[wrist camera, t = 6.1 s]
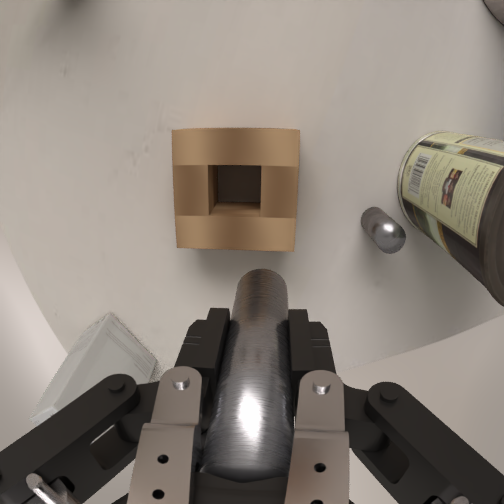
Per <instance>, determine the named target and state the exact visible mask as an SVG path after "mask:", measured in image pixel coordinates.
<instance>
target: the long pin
mask: <svg viewBox="0 0 504 504" xmlns="http://www.w3.org/2000/svg"><path fill="white" fill-rule="evenodd" d="M293 440H294V409H293V391H292V388H291V375H290V353H289V332H288V295H287V286H286V283H285V281H284V280H283V278H282V277H281V276H280V275H279V274H277V273H276V272H273V271H271V270H267V269H256V270H253V271H250V272H248V273H247V274H245V275H244V276H243V277H242V278H241V280H240V281H239V283H238V287H237V292H236V296H235V301H234V306H233V311H232V315H231V320H230V325H229V330H228V334H227V339H226V344H225V349H224V354H223V359H222V363H221V368H220V373H219V378H218V383H217V387H216V392H215V397H214V402H213V407H212V412H211V417H210V422H209V426H208V431H207V436H206V441H205V446H204V451H203V456H202V463H201V470H200V472H202V473H208V474H211V475H214V476H217V477H220V478H224V479H227V480H230V481H234V482H237V483H248V482H254V481H260V480H265V479H270V478H275V477H289V469H290V462H291V455H292V447H293Z"/></svg>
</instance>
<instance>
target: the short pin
mask: <svg viewBox="0 0 504 504" xmlns="http://www.w3.org/2000/svg"><path fill="white" fill-rule="evenodd" d="M361 224H362V227H363V228H364V229H365V231H366V232H367V233H368V234H369V236H370V237H371V238H372V239H373V240H374V242H375V243H376V244H377V245H378V247H379V248H380V249H381V250H382V251H383V252H385V253H389V254H391V253H395V252H397V251H399V250H400V249H401V248H402V247H403V245H404V243H405V240H406V234H405V231H404V229H403V228H402V227H401V226H400V225H399V224H397V223H396V222H395V221H394V220H393V219H392V218H391V217H389V216H388V215H387V214H386V213H385V212H384V211H382V210H381V209H380V208H377V207H371V208H368V209H367V210H366V211H365V212H364V213H363V215H362V217H361Z"/></svg>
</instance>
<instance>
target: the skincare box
mask: <svg viewBox="0 0 504 504" xmlns="http://www.w3.org/2000/svg"><path fill="white" fill-rule="evenodd" d="M156 361H157V360H156V359H155V358H154V357H153V356H152V355H151V354H150V353H149V352H148V351H147V350H146V349H145V348H144V347H143V346H142V345H141V344H140V343H139V342H138V341H137V340H136V339H135V338H134V337H133V336H132V335H131V334H130V332H129V331H128V330H127V329H126V328H125V327H124V326H123V325H122V324H121V323H120V322H119V321H118V320H117V319H116V318H115V316H114V315H113V314H112V313H110V314H108V315H107V316H105V317H104V318H102V319H101V320H99V321H98V322H96V323H95V324H94V325H92V326H91V327H89V328H88V329H87V330H85V331H84V332H83V333H82V335H81V336H80V338H79V339H78V340H77V342H76V343H75V345H74V346H73V348H72V349H71V351H70V352H69V354H68V356H67V357H66V359H65V361H64V362H63V364H62V365H61V367H60V368H59V370H58V371H57V373H56V375H55V376H54V378H53V379H52V381H51V383H50V384H49V386H48V387H47V389H46V391H45V392H44V394H43V396H42V397H41V399H40V401H39V402H38V404H37V406H36V408H35V409H34V411H33V413H32V415H31V417H30V418H29V420H31V421H32V422H33V423H34V424H35V425H36V426H38V425H40V424H41V423H42V422H44V421H45V420H47V419H48V418H50V417H51V416H52V415H54V414H55V413H57V412H58V411H59V410H61V409H62V408H64V407H65V406H66V405H68V404H69V403H71V402H72V401H74V400H75V399H76V398H78V397H79V396H81V395H82V394H83V393H85V392H86V391H88V390H89V389H90V388H92V387H93V386H94V385H96V384H97V383H99V382H100V381H101V380H103V379H104V378H106V377H108V376H110V375H113V374H127V375H129V376H131V377H132V378H134V380H135V381H136V384H146V383H149V380H150V377H151V375H152V372H153V369H154V366H155V364H156ZM112 427H113V425H112V426H111V427H110V428H112ZM110 428H109V429H110ZM109 429H107V430H106V431H105V432H104V433H106V432H107V431H108V430H109ZM104 433H102V434H101V435H100V436H99V437H101V436H102V435H103V434H104ZM99 437H97V438H96V439H95V440H94V441H96V440H97V439H98V438H99ZM94 441H93V442H94ZM93 442H92V443H93ZM92 443H91V444H92Z"/></svg>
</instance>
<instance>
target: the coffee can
mask: <svg viewBox="0 0 504 504" xmlns="http://www.w3.org/2000/svg"><path fill="white" fill-rule="evenodd" d="M398 196H399V200H400V205H401V207H402V210H403V212H404V214H405V216H406V217H407V219H408V220H409V222H410V223H411V224H412V225H413V226H414V227H415V228H416V229H418V230H419V231H421V232H423V233H424V234H425V235H427V236H428V237H429V238H430V239H432V240H433V241H434V242H435V243H436V244H438V245H439V246H440V247H441V248H442V249H444V250H445V251H446V252H447V253H448V254H450V255H451V256H452V257H453V258H454V259H455V260H456V261H457V262H459V263H460V264H461V265H462V266H463V267H464V268H465V269H466V270H468V271H469V272H470V273H471V274H472V275H473V276H474V277H475V278H476V279H477V280H478V281H480V282H481V283H482V284H483V285H484V286H485V287H486V288H487V290H488V291H489V293H490V294H491V295H492V297H493V298H494V299H495V300H496V301H497V302H498V303H499V304H500V305H502V306H504V141H502V140H496V139H491V138H485V137H478V136H472V135H464V134H457V133H452V132H448V131H436V132H432V133H429V134H427V135H425V136H423V137H421V138H420V139H418V140H417V141H416V142H415V143H414V144H413V145H412V146H411V147H410V149H409V150H408V151H407V153H406V155H405V157H404V159H403V161H402V164H401V167H400V171H399V176H398Z"/></svg>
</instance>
